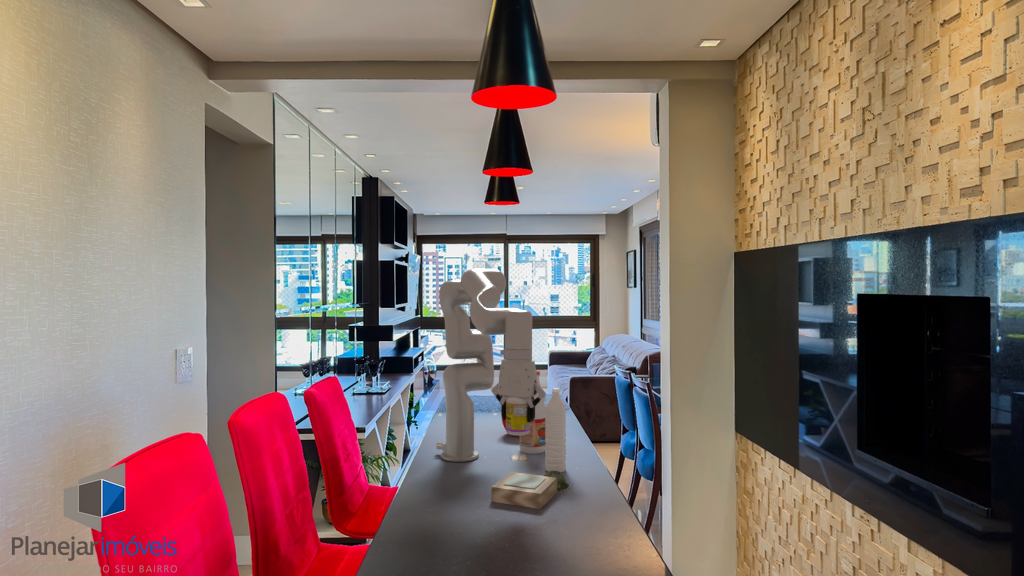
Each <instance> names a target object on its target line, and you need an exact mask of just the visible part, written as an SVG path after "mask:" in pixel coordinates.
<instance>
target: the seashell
mask: <svg viewBox="0 0 1024 576" xmlns="http://www.w3.org/2000/svg"><path fill="white" fill-rule="evenodd" d="M542 476H547V477H555V478H557V492H558V490H559V492H562V491H565V490H564V489H566V490H568V489H569V488H570V483H568V482H567V481H566V479H565V476H564V475H563V474H562V472H561V473H560V472H558V471H549V472H548V471H547V472H546V473H544V474H543V475H542ZM568 487H569V488H568ZM567 488H568V489H567ZM561 490H562V491H561Z"/></svg>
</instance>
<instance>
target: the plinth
mask: <svg viewBox="0 0 1024 576" xmlns="http://www.w3.org/2000/svg"><path fill="white" fill-rule="evenodd" d="M490 490H491V496H490V497H491V499H490V500H491V502H493V503H496V504H505V505H512V506H519V507H525V508H531V509H538V510H541V509H542V508H543V507H544V506H545V505H546V504H547V503H548V502H549V501H550V500H551V499H552V498H553V497H554V496H555V495H556V494H557V492H558V491H557V478H555V477H547V476H543V475H540V474H539V475H538V474H531V473H524V472H515V471H510V472H509V473H508V474H507V475H505V476H504V477H502V478H501V479H500V480H498V481H497V482H496V483H494V484H493V485H492V486H491V488H490Z"/></svg>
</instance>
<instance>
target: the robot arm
mask: <svg viewBox="0 0 1024 576" xmlns="http://www.w3.org/2000/svg"><path fill="white" fill-rule="evenodd" d="M506 288H507V279H506V276H505V275H504V273H503V272H502V271H501V270H499V269H496V268H473V269H472V268H471V269H468V270H467V271H465V272H464V273H462V275H461V277H460V279H451V280H447V281H444V282H443V283H442V284H441V285H440V287H439V293H438V301H439V305H440V308H441V312H442V315H443V317H444V330H445V331H444V332H445V335H444V336H445V349H446V350H445V351H446V355H447V356H448V358H449V359H452V360H474V359H476V362H464V363H459V362H458V363H453V364H450V365H448V366H447V367H446V368H445V369H444V370H443V372H442V373H443V374H442V381H443V387H444V394H445V442H442V441H437V443H436V449H437V450H442V452H441V454H440V457H441V459H442V460H444V461H447V462H453V463H463V462H470V461H471V462H472V461H474V460H476V459H478V458H479V456H480V455H479V451H477V450H475V405H474V402H473V400H472V398H471V397H470V396H469V395H468V393H469V392H474V391H475V392H476V391H485V390H486V391H487V390H489V389H491V393H492V394H493V395H494V397H495V399H496V400H497V401H498V402H499V404H500V405H501V406H500V407H501V410H500V413H501V414H500V415H502V416H503V420H505V419H506V398H507V397H517V398H526V400H527V402H528V404H529V407H528V408H527V422H531V421H533V420H534V418H535V406H536V405H537V404H538V403H539V402H540V401H541V400H542V399H543V398H544V397H545V395H547V393H546V391H545V390H544V388H543V387H542V386H541V387H542V388H541V387H540V386H539V385H538V384H537V374H536V371H537V368H536V363H535V360H534V359H533V314H532V312H531V311H530V310H526V309H520V308H519V307H518V308H516V307H498V308H497V306H498V305H499V303H500V301H501V297H502V295H503V294H504V292H505V290H506ZM467 305H468V306H469V314H468V312H467V311H466V310H465V309H464V307H463V306H467ZM471 323H472V324H473V325H474V326H473V327H475V329H476V330H471ZM497 335H498V336H499V335H500V336H501V335H504V348H503V349H501V350H500V355H501V356H503V359H501V362H500V368H499V373H498V374H499V375H498V383H497V384H496V385H494V382H495V367H494V366H495V365H494V350H493V349H494V347H493V341H492V338H491V336H497ZM493 385H494V386H493ZM537 393H538V394H539V395H538V397H537V398H536V399H535V398H534V395H536V394H537Z"/></svg>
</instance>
